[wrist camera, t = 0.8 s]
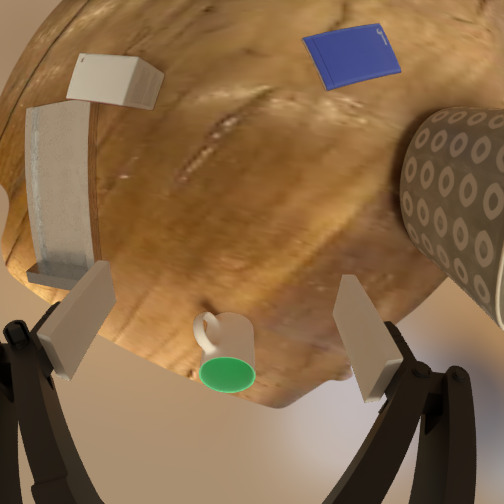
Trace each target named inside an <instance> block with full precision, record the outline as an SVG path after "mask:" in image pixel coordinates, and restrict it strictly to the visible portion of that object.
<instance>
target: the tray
mask: <svg viewBox="0 0 504 504" xmlns="http://www.w3.org/2000/svg"><path fill="white" fill-rule="evenodd" d="M98 105H99V103H94V102H87V101H80V100H71V101H65V102H59V103H54V104H49V105H44V106H39V107H31V108H27V109H26V125H25V172H26V189H27V200H28V210H29V218H30V225H31V232H32V238H33V244H34V249H35V255H36V260H37V263H36V264H34V265H33V266H32V267H31V268H30V269H29V270H27V271H26V273H27V277H28V281H29V282H31V283H35V284H40V285H45V286H50V287H55V288H60V289H65V290H72V288H73V287H74V286H75V285H76V284H77V283H78V282H79V280H80V279H81V278H82V277H83V276H84V275H85V274H86V273H87V271H88V270H89V269H90V268H91V267H92V266H93V265H94V264H95V263H96V262H97V261H98V260H100V261H102V258H101V250H100V240H99V229H98V216H97V197H96V136H97V118H98Z"/></svg>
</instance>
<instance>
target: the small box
mask: <svg viewBox="0 0 504 504" xmlns="http://www.w3.org/2000/svg"><path fill="white" fill-rule="evenodd" d="M164 75H165V74H164V73H162V72H161V71H159V70H158V69H156V68H155V67H154V66H152V65H151V64H149V63H148V62H146V61H144V60H143V59H141V58H140V57H134V56H119V55H105V54H89V53H80V54H79V57H78V60H77V63H76V66H75V69H74V72H73V75H72V78H71V82H70V85H69V88H68V92H67V96H66V99H72V100H80V101H87V102H94V103H101V104H108V105H116V106H123V107H131V108H138V109H145V110H150V111H152V110H153V108H154V105H155V102H156V99H157V96H158V93H159V90H160V87H161V84H162V81H163V78H164Z"/></svg>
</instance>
